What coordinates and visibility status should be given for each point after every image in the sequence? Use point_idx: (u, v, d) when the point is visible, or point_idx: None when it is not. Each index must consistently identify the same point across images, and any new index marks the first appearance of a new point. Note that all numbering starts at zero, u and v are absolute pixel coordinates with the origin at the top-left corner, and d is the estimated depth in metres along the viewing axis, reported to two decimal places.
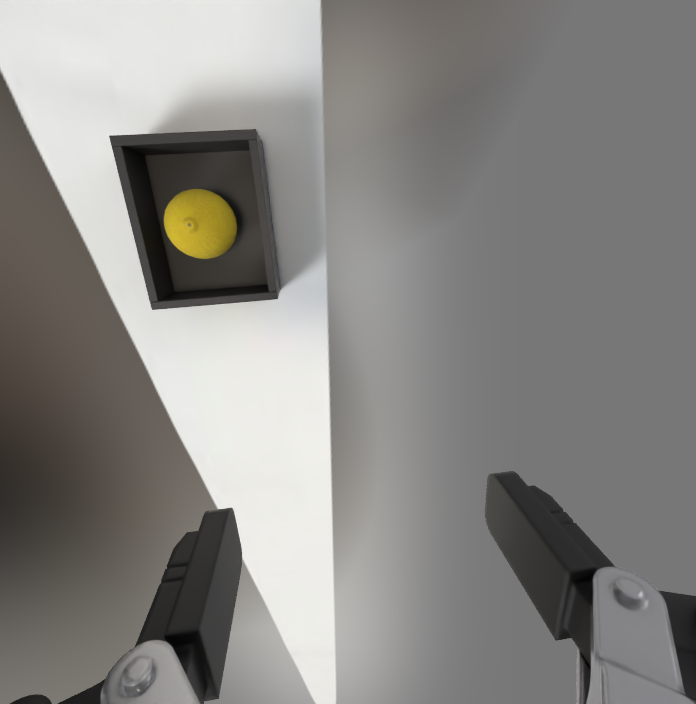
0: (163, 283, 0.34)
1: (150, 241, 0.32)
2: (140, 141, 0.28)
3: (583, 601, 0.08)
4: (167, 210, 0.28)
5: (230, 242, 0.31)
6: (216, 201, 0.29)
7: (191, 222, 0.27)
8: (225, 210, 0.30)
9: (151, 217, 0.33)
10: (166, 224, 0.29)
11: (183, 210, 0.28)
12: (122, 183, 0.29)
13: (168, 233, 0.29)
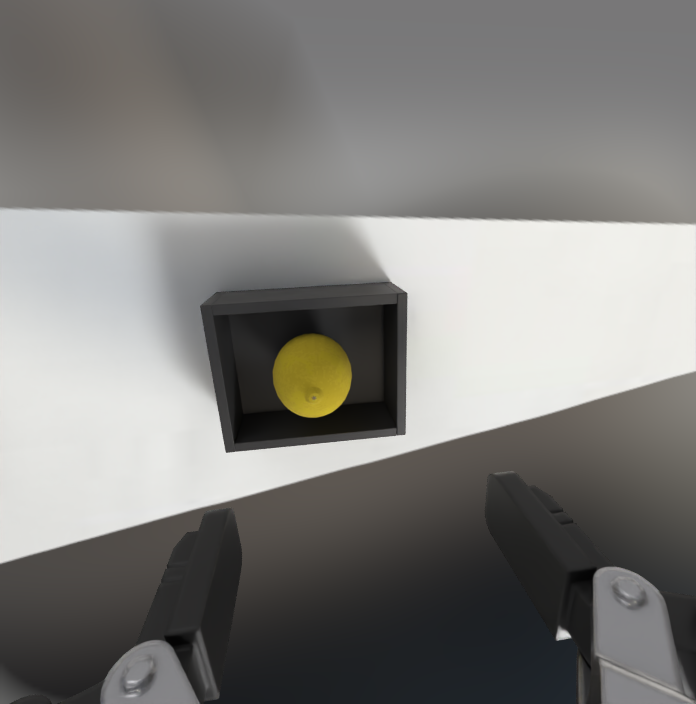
0: (375, 415, 0.30)
1: (330, 424, 0.29)
2: (228, 426, 0.26)
3: (582, 600, 0.08)
4: (297, 414, 0.25)
5: (333, 346, 0.25)
6: (286, 359, 0.24)
7: (310, 395, 0.23)
8: (296, 350, 0.24)
9: (305, 417, 0.30)
10: (313, 416, 0.25)
11: (297, 400, 0.23)
12: (271, 446, 0.27)
13: (323, 415, 0.25)
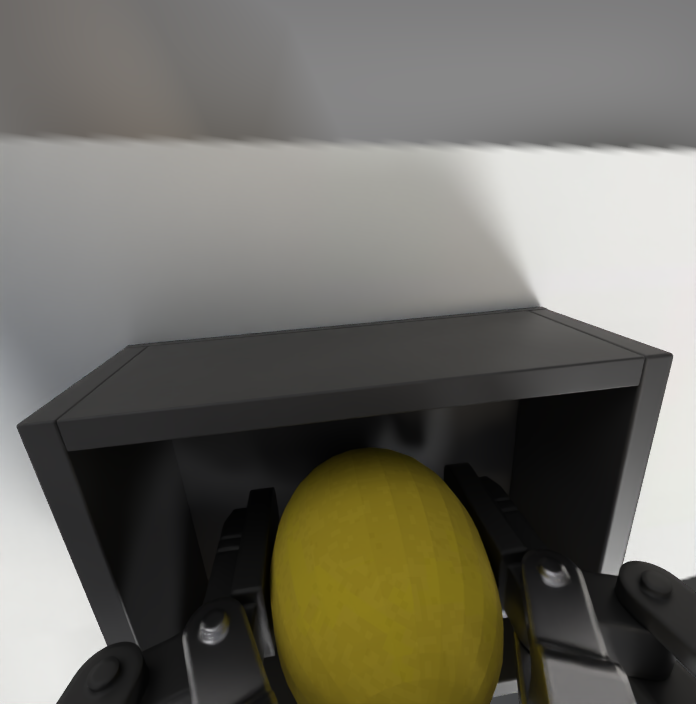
0: None
1: None
2: None
3: (513, 580, 0.09)
4: None
5: (448, 516, 0.08)
6: (311, 589, 0.07)
7: None
8: (342, 556, 0.07)
9: None
10: None
11: None
12: None
13: None
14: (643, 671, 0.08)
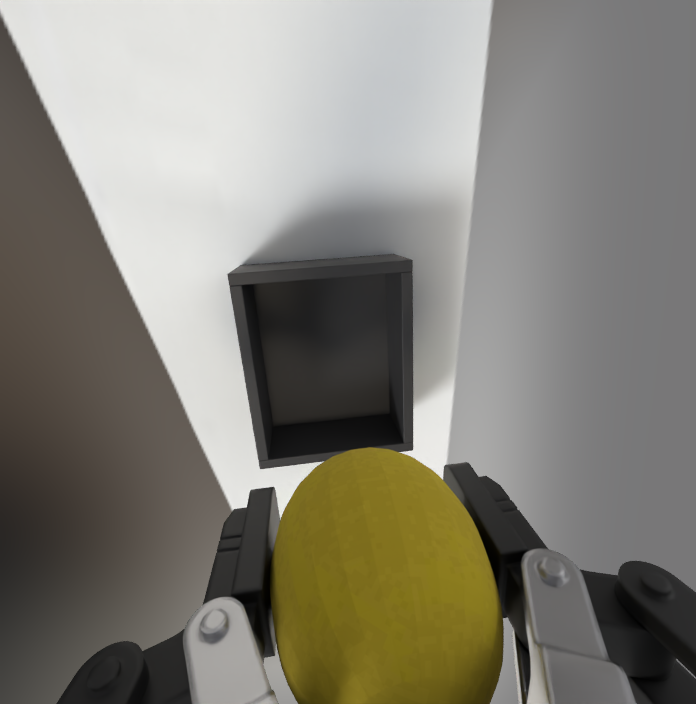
0: (268, 428, 0.27)
1: (260, 386, 0.25)
2: (266, 279, 0.22)
3: (513, 580, 0.09)
4: None
5: (448, 516, 0.08)
6: (312, 589, 0.07)
7: None
8: (342, 556, 0.07)
9: (259, 352, 0.26)
10: None
11: None
12: (238, 329, 0.22)
13: None
14: (642, 672, 0.08)
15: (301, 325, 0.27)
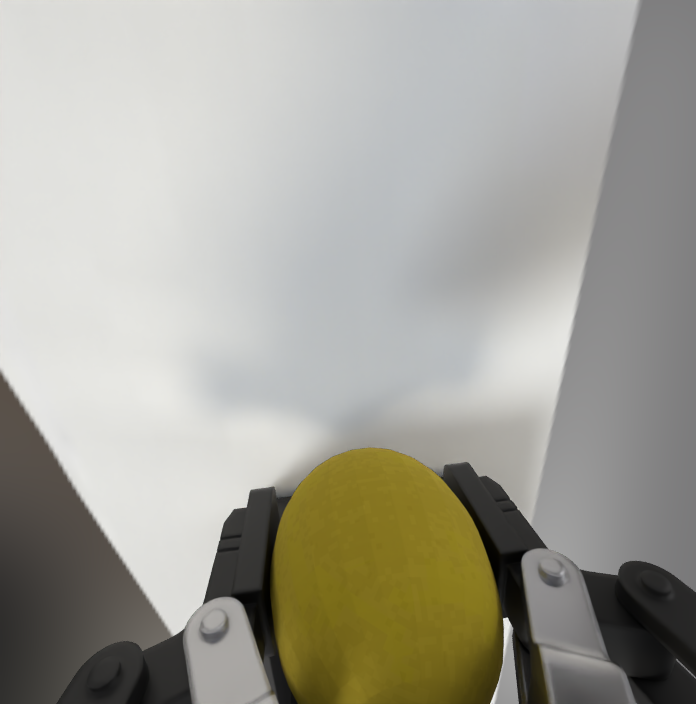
0: (288, 693, 0.21)
1: (279, 666, 0.19)
2: None
3: (513, 580, 0.09)
4: None
5: (448, 516, 0.08)
6: (312, 589, 0.07)
7: None
8: (342, 556, 0.07)
9: None
10: None
11: None
12: None
13: None
14: (642, 672, 0.08)
15: None
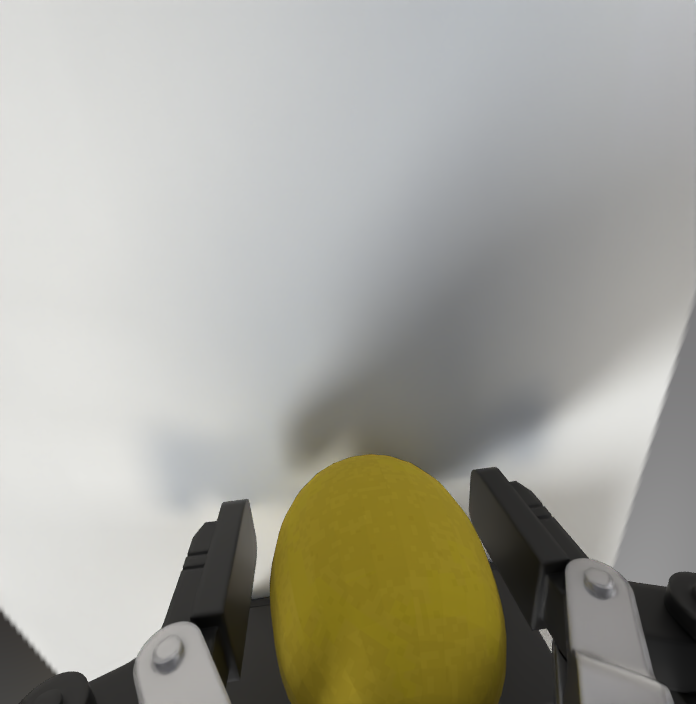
0: None
1: None
2: None
3: (555, 591, 0.08)
4: None
5: (450, 526, 0.08)
6: (312, 601, 0.07)
7: None
8: (343, 568, 0.07)
9: None
10: None
11: None
12: None
13: None
14: (695, 688, 0.07)
15: None
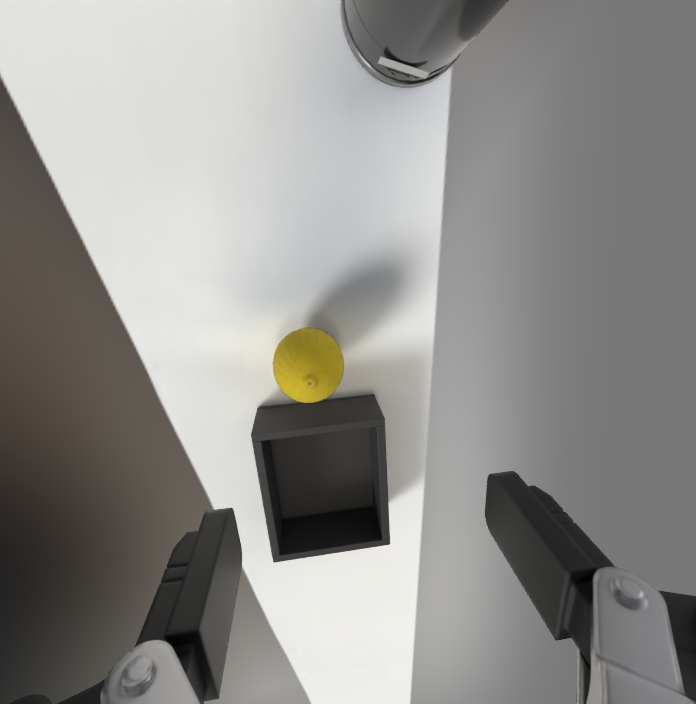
0: (279, 527, 0.36)
1: (273, 501, 0.34)
2: (278, 436, 0.30)
3: (583, 601, 0.08)
4: (296, 399, 0.28)
5: (326, 338, 0.28)
6: (284, 351, 0.27)
7: (306, 381, 0.26)
8: (292, 343, 0.27)
9: (272, 472, 0.34)
10: (309, 401, 0.28)
11: (294, 386, 0.26)
12: (258, 469, 0.31)
13: (318, 400, 0.28)
14: None
15: (303, 447, 0.36)
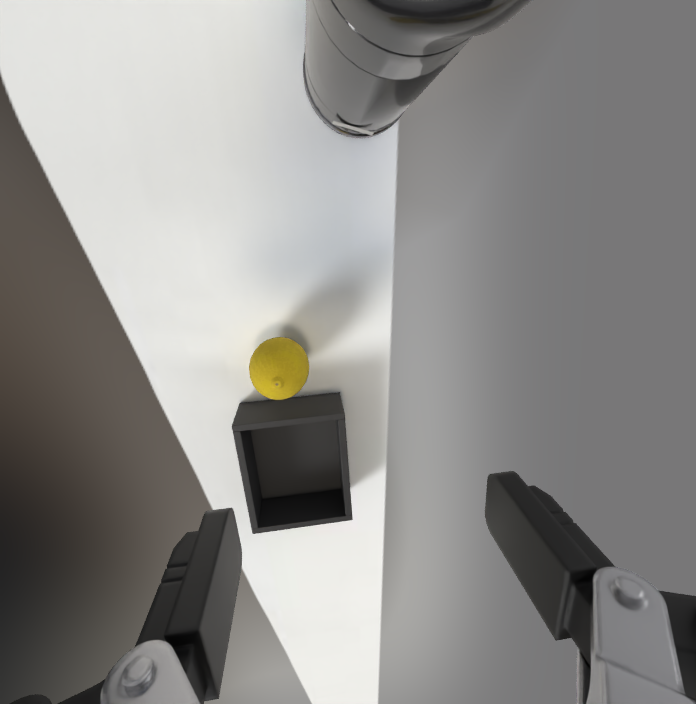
0: (258, 505, 0.42)
1: (252, 482, 0.40)
2: (255, 427, 0.36)
3: (583, 600, 0.08)
4: (267, 397, 0.33)
5: (293, 346, 0.34)
6: (257, 357, 0.33)
7: (274, 382, 0.31)
8: (264, 350, 0.33)
9: (252, 458, 0.40)
10: (278, 399, 0.33)
11: (265, 386, 0.32)
12: (238, 454, 0.37)
13: (286, 398, 0.34)
14: None
15: (279, 437, 0.42)
